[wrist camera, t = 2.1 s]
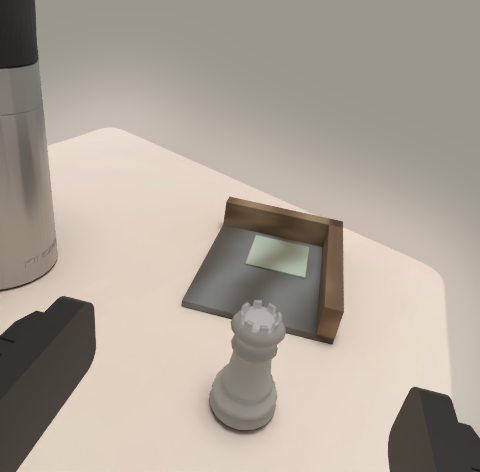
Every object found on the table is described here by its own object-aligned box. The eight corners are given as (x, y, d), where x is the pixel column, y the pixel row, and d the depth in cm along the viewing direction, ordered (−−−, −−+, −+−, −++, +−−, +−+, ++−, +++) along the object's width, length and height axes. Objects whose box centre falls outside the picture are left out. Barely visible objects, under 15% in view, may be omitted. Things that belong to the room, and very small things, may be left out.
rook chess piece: (245, 368, 31) (263, 281, 27) (288, 412, 28) (315, 323, 24) (195, 396, 28) (207, 304, 24) (237, 448, 25) (258, 354, 21)
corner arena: (181, 306, 36) (184, 272, 34) (225, 223, 49) (229, 196, 48) (332, 344, 34) (343, 311, 32) (334, 248, 48) (342, 221, 46)
